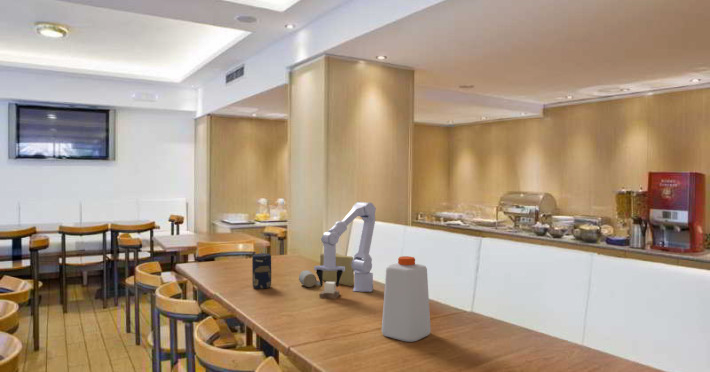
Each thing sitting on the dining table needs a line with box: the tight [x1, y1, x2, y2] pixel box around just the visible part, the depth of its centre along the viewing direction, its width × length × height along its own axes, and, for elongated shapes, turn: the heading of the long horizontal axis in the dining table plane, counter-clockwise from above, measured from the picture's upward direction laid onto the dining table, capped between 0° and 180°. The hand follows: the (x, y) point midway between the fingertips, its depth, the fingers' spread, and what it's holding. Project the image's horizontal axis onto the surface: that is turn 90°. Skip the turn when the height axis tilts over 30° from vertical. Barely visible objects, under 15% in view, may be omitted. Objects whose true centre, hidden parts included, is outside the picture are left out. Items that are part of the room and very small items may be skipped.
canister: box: [251, 252, 272, 290], centre depth 244 cm, size 10×10×18 cm
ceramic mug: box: [298, 269, 321, 288], centre depth 249 cm, size 11×8×8 cm
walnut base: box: [318, 289, 340, 300], centre depth 228 cm, size 8×8×2 cm
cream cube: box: [323, 281, 337, 293], centre depth 228 cm, size 4×4×4 cm
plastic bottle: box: [381, 255, 432, 343], centre depth 173 cm, size 15×15×28 cm
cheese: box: [319, 252, 354, 287], centre depth 257 cm, size 22×10×15 cm, turn 42°
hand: (329, 285), depth 228 cm, fingers open, 7 cm apart
